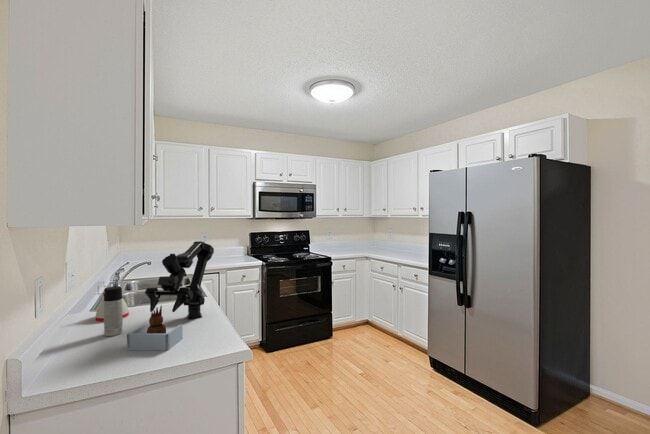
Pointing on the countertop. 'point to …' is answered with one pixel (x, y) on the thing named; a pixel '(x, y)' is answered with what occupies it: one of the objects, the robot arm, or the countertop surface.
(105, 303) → the spray can
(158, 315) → the wooden figurine
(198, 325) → the countertop surface
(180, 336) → the cubby
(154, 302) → the robot arm
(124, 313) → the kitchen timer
